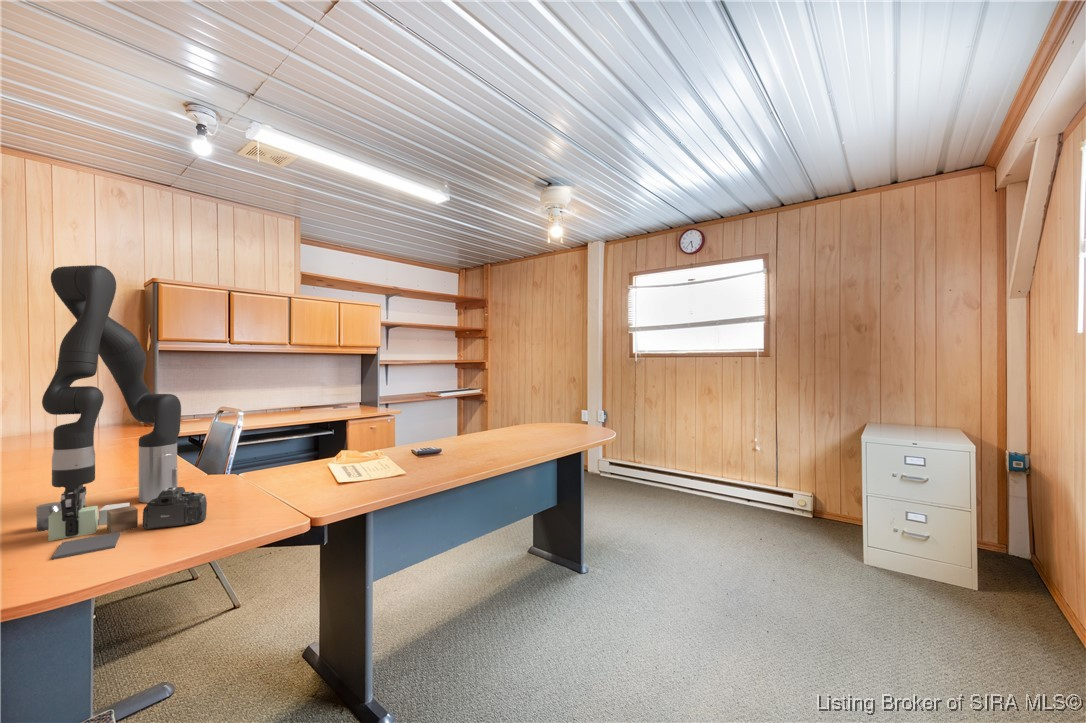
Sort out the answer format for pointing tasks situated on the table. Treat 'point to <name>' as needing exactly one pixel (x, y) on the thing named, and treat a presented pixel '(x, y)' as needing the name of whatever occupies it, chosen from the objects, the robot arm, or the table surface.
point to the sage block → (86, 523)
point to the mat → (86, 545)
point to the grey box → (108, 507)
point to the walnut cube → (122, 519)
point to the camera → (175, 509)
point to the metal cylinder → (46, 514)
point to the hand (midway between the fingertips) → (74, 532)
